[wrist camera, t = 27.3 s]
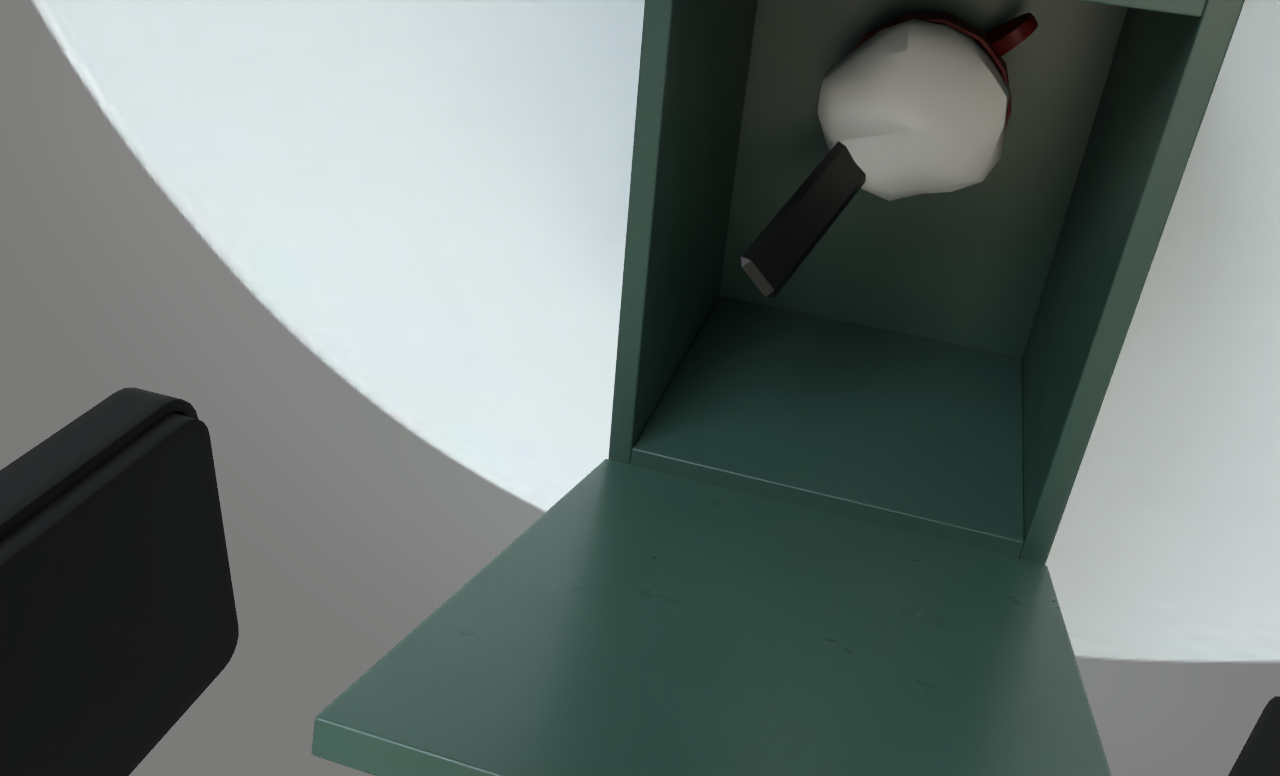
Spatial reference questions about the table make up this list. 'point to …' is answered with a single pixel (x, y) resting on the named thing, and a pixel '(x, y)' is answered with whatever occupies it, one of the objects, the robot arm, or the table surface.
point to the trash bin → (898, 264)
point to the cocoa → (897, 127)
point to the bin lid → (724, 652)
